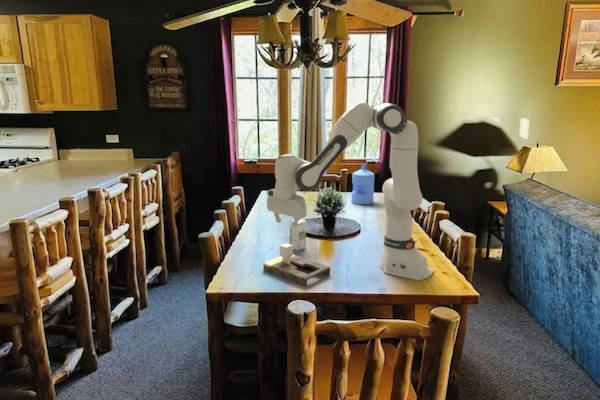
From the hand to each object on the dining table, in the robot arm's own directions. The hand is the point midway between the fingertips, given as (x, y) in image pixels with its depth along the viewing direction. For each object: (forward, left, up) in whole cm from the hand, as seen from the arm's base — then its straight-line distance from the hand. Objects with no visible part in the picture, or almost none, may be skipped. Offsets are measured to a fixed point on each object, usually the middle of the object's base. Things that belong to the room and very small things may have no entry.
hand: (286, 224), depth 178 cm
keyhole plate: (-6, 0, -20) cm, 21 cm away
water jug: (+42, -123, -20) cm, 131 cm away
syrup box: (+13, -22, -20) cm, 33 cm away
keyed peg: (0, 0, -20) cm, 20 cm away
